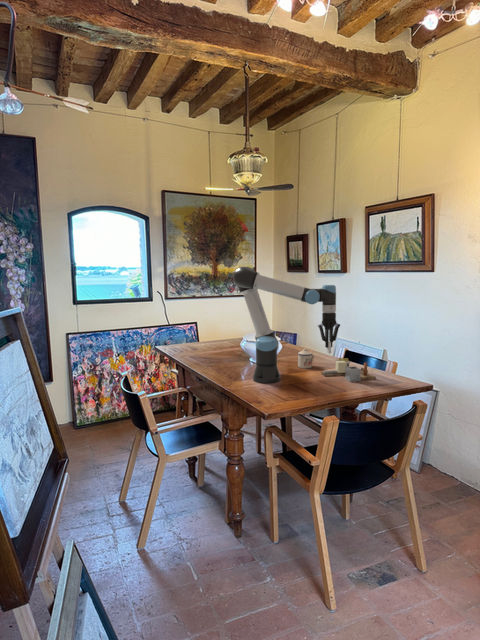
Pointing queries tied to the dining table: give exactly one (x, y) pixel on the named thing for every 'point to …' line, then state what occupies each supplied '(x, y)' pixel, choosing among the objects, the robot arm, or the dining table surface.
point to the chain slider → (338, 367)
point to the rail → (338, 373)
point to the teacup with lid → (305, 359)
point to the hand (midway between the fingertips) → (328, 353)
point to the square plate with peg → (366, 374)
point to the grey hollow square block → (352, 373)
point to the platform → (344, 360)
